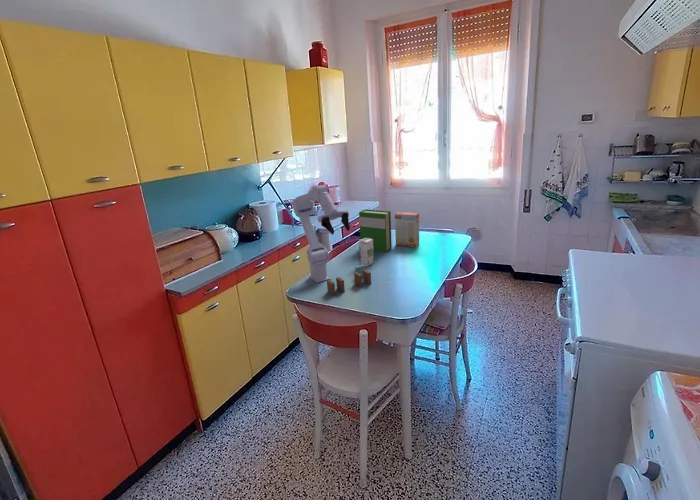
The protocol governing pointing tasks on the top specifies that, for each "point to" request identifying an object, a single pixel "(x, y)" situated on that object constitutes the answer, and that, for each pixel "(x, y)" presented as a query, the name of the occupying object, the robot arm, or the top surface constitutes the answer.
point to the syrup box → (366, 251)
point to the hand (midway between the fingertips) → (341, 231)
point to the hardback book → (376, 228)
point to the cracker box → (407, 229)
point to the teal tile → (360, 269)
